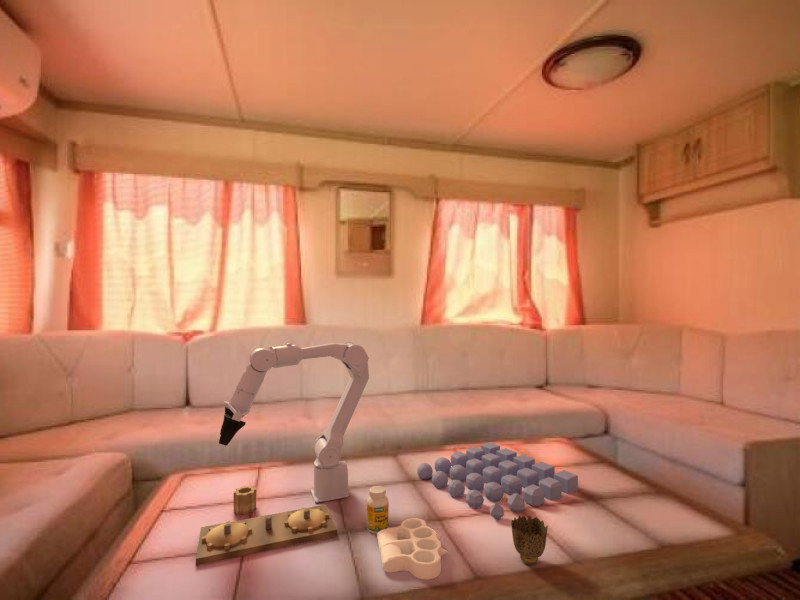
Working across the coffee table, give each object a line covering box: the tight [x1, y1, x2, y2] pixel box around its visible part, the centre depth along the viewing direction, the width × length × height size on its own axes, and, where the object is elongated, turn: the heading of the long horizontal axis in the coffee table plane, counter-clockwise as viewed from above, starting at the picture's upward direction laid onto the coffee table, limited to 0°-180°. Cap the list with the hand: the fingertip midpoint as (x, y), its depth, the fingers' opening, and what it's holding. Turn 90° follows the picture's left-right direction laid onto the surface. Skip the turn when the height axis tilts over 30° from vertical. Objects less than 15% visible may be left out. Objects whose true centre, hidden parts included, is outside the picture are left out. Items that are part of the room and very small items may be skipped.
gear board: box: [195, 504, 338, 567], centre depth 97 cm, size 30×13×4 cm, turn 112°
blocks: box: [416, 442, 579, 520], centre depth 126 cm, size 35×34×5 cm
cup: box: [510, 515, 548, 566], centre depth 87 cm, size 8×7×8 cm
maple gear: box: [233, 485, 257, 515], centre depth 109 cm, size 6×6×5 cm
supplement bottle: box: [366, 485, 390, 535], centre depth 100 cm, size 5×5×10 cm
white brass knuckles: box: [376, 517, 449, 580], centre depth 90 cm, size 3×18×15 cm
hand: (223, 439), depth 108 cm, fingers open, 7 cm apart
